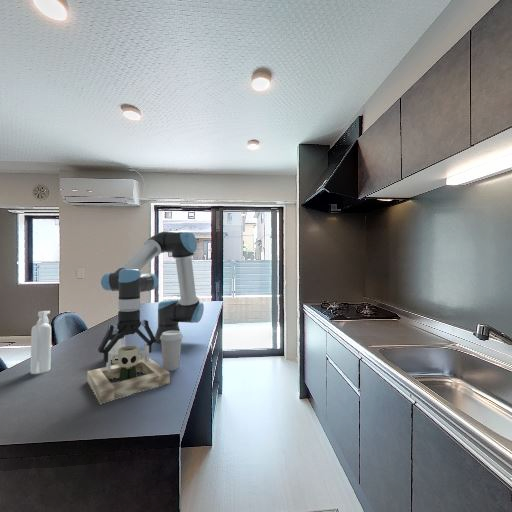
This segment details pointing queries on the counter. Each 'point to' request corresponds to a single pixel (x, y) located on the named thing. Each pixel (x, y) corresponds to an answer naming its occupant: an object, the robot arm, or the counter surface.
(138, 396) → the counter surface
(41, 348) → the white pump bottle
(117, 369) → the well block
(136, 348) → the character mug
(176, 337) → the coffee cup
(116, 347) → the jar
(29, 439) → the counter surface
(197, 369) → the counter surface
